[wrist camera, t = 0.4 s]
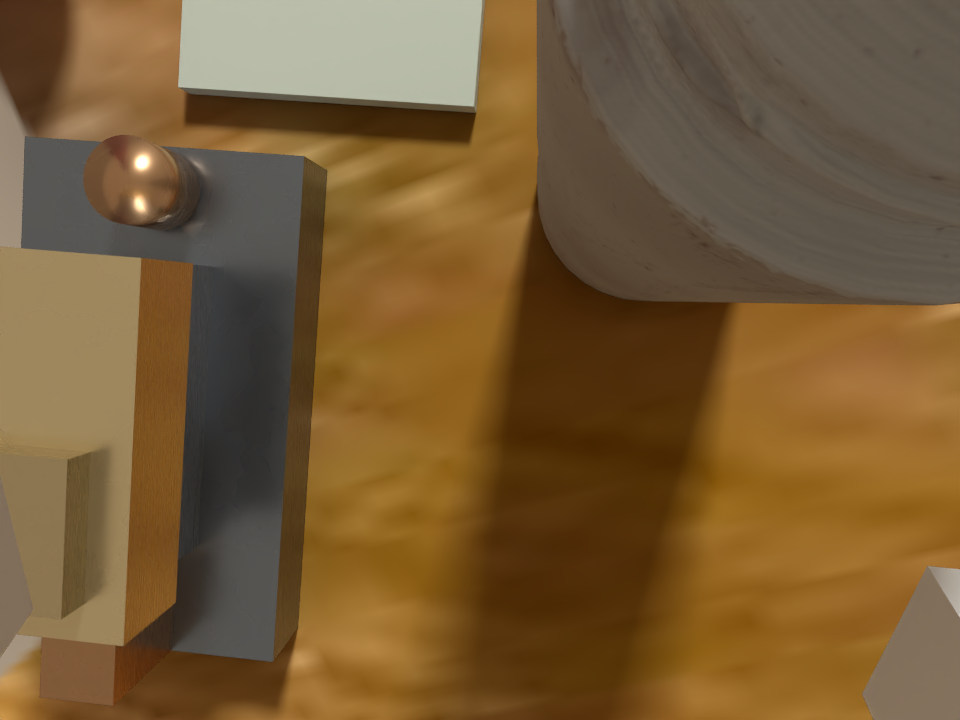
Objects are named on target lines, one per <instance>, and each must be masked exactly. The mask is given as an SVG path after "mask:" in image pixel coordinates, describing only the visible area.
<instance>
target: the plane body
mask: <svg viewBox="0 0 960 720" xmlns="http://www.w3.org/2000/svg"><path fill="white" fill-rule="evenodd" d="M326 180H327V170H326V169H324V168H322V167H321V166H319V165H317V164H316V163H314V162H313V161H311V160H309V159H308V158H306V157H304V156H293V155H278V154H264V153H250V152H236V151H222V150H208V149H194V148H179V147H165V146H158V145H156V144H153V143H151V142H149V141H146V140H144V139H141V138H139V137H135V136H130V135H119V136H114V137H111V138H108V139H106V140H104V141H103V142H95V141H80V140H66V139H52V138H38V137H25V150H24V181H23V210H22V211H23V212H22V239H21V248H23V249H36V250H48V251H61V252H73V253H86V254H98V255H110V256H123V257H135V258H146V259H156V260H165V261H175V262H184V263H193V275H192V295H191V314H190V334H189V353H188V373H187V392H186V412H185V431H184V451H183V471H182V490H181V510H180V529H179V549H178V568H177V588H176V603H175V604H173V605H172V606H171V607H170V608H169V609H167V610H166V611H165V612H164V613H163V614H161V615H160V616H159V617H158V618H157V619H155V620H154V621H153V622H152V623H151V624H149V625H148V626H147V627H146V628H145V629H143V630H142V631H141V632H140V633H139V634H137V635H136V636H135V637H134V638H133V639H132V640H130V641H129V642H128V643H127V644H126V645H124V646H117V645H108V644H99V643H90V642H81V641H72V640H64V639H55V638H46V637H42V648H41V675H40V697H41V698H49V699H58V700H66V701H75V702H83V703H92V704H100V705H108V706H113V705H114V704H115V703H117V702H118V701H119V700H120V699H121V698H122V697H123V696H124V695H125V694H126V693H127V692H128V691H129V690H130V689H131V688H132V687H133V686H134V685H135V684H136V683H137V682H138V681H139V680H141V679H142V678H143V677H144V676H145V675H146V674H147V673H148V672H149V671H150V670H151V669H152V668H153V667H154V666H155V665H156V664H157V663H158V662H159V661H160V660H161V659H162V658H164V657H165V656H166V655H167V654H168V653H169V652H170V651H171V650H172V651H181V652H190V653H199V654H208V655H216V656H225V657H234V658H243V659H252V660H261V661H269V662H273V661H274V660H275V658H276V657H277V656H278V654H279V653H280V652H281V650H282V649H283V647H284V646H285V645H286V643H287V642H288V641H289V639H290V638H291V636H292V635H293V634H294V632H295V631H296V630H297V628H298V616H299V601H300V585H301V570H302V554H303V538H304V523H305V507H306V492H307V476H308V461H309V445H310V429H311V414H312V398H313V383H314V367H315V351H316V336H317V320H318V305H319V289H320V274H321V258H322V242H323V227H324V211H325V196H326Z"/></svg>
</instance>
